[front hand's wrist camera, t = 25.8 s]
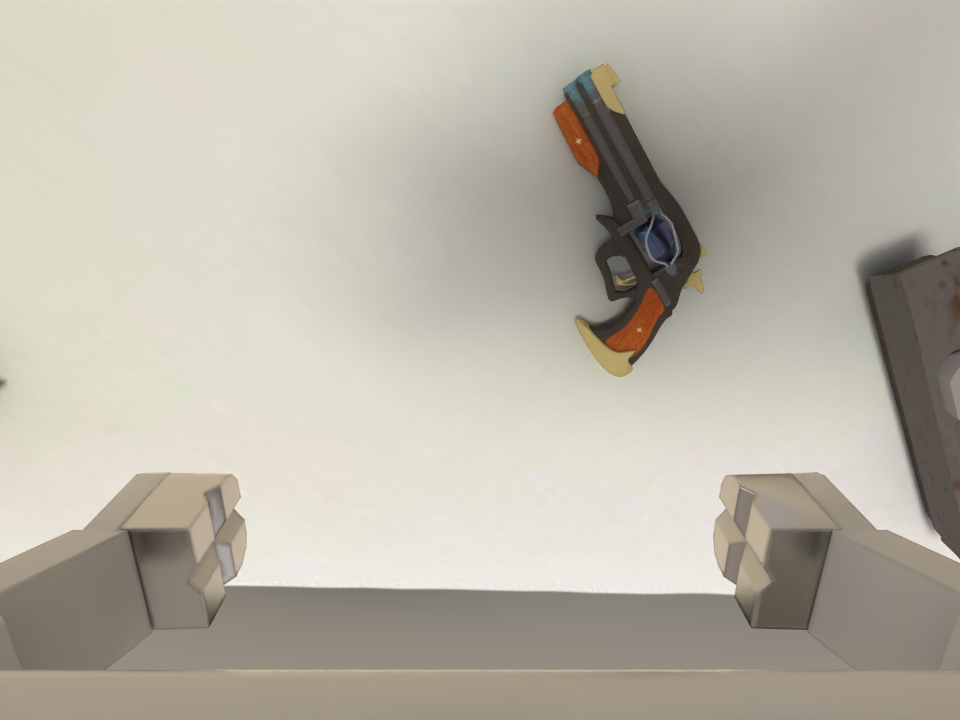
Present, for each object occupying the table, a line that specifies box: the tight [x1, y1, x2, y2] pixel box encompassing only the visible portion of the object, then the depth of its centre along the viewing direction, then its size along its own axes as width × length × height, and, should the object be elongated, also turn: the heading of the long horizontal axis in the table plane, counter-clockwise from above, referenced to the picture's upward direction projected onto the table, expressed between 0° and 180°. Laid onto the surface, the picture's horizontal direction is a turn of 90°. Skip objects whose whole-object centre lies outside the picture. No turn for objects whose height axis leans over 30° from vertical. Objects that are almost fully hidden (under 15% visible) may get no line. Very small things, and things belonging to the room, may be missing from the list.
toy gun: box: [553, 64, 707, 377], centre depth 42 cm, size 3×19×10 cm
